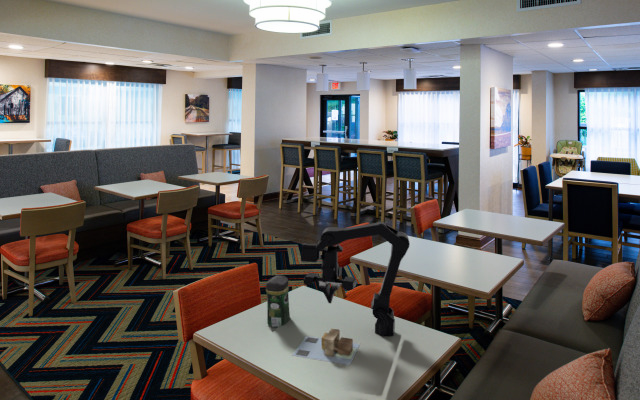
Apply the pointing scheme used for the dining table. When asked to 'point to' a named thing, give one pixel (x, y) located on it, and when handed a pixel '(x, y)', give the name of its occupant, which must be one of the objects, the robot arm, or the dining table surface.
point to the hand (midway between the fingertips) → (330, 302)
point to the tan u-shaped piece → (341, 345)
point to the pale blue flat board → (322, 351)
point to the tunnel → (331, 341)
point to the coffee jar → (277, 301)
